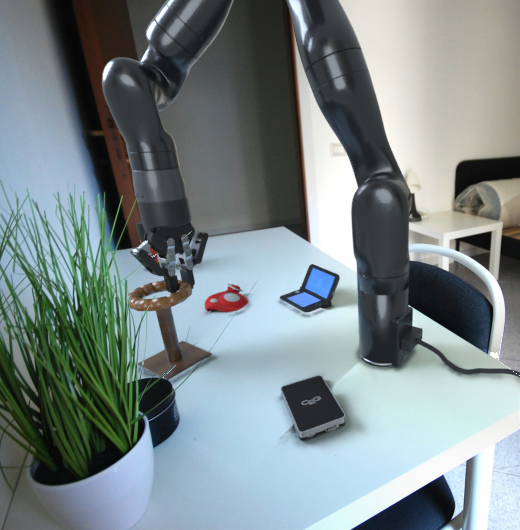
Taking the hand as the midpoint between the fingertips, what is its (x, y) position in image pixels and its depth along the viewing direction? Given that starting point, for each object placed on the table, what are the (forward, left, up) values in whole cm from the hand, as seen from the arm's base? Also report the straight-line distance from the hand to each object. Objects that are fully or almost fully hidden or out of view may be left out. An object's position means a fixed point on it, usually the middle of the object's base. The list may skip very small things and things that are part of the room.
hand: (182, 290), depth 67 cm
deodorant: (+55, -25, -13) cm, 62 cm away
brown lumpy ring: (0, +4, +1) cm, 4 cm away
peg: (0, +4, -13) cm, 14 cm away
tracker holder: (+11, -18, -13) cm, 25 cm away
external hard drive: (-30, +1, -13) cm, 33 cm away
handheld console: (-5, -29, -13) cm, 32 cm away
